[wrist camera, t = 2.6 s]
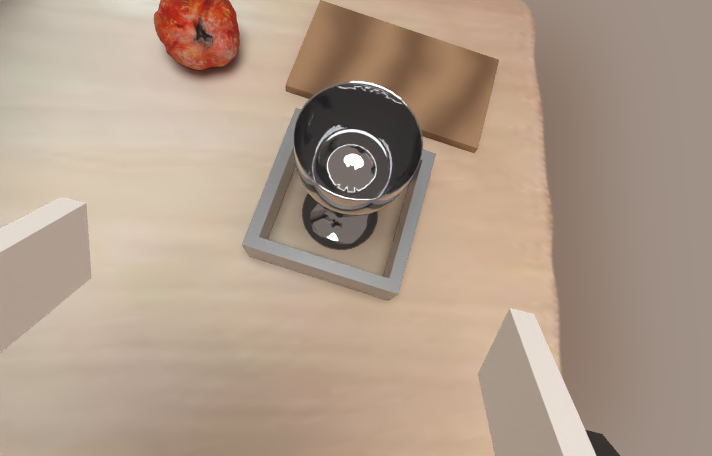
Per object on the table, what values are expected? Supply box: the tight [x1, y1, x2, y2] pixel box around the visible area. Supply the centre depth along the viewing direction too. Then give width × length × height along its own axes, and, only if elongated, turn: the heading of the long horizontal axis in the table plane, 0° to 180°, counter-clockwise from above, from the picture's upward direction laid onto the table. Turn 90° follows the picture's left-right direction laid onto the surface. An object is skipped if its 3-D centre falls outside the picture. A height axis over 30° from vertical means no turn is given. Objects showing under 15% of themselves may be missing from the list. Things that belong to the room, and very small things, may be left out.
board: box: [286, 0, 499, 153], centre depth 45 cm, size 20×11×1 cm, turn 73°
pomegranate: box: [154, 0, 239, 70], centre depth 40 cm, size 7×7×10 cm
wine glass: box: [294, 81, 423, 250], centre depth 33 cm, size 8×8×15 cm
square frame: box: [242, 108, 436, 300], centre depth 38 cm, size 13×13×4 cm
